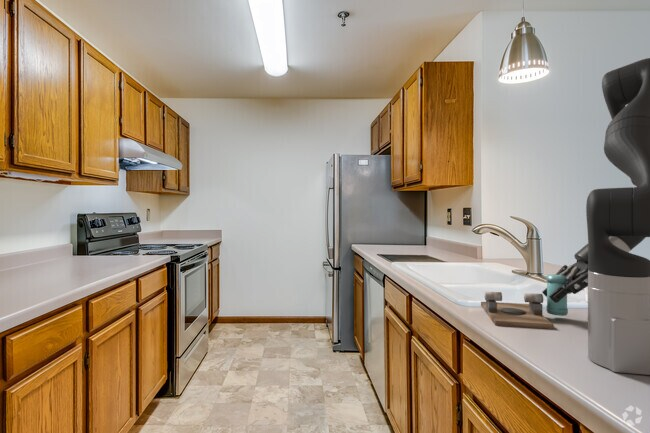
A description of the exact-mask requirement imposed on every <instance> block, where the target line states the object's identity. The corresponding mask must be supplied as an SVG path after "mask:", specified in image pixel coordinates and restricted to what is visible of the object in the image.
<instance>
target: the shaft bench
mask: <svg viewBox="0 0 650 433" xmlns="http://www.w3.org/2000/svg"><path fill="white" fill-rule="evenodd" d="M502 301H503V294H502V291H484V301H481V302H480V306H481V307H482V309H483V311H484V312H485V313H486V315H487V316H488V317H489V319H490V320H491V321H492V323H493V325H494V326H500V327H501V326H502V327H514V328H515V327H518V328H532V329H533V328H536V329H546V330H547V329H548V330H550V329H552V330H553V329H554V323H553V322H551V321H550V320H549V319H548V318H547V317H545V316H544V314H543V303H544V294H543V293H534V292H533V293H528V292H524V294H523V301H524V302H525V303H519V302H518V303H517V302H513V303H512V302H502Z"/></svg>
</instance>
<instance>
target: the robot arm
mask: <svg viewBox="0 0 650 433" xmlns="http://www.w3.org/2000/svg"><path fill="white" fill-rule="evenodd" d="M601 90H602V93H603V94H602V95H603V99H604V101H605V104H606V107H607V110H608V112H609V115H610V117H611V120H610V122H609V124H608V126H607V128H606V131H605V136H604V144H603V151H604V152H603V153H604V155H605V157H606V159H607V160H608V162H610V163H611V164H612V165H613V166H614V167H616V169H618V170H619V171H621V172H622V173H624V174H625V175H626V176H627V177H629V178H630V181H631V183H632V185H634V187H632V186H631V187H629V186H628V187H610V188H609V187H608V188H607V187H606V188H596V189H593V190H592V191H590V192H589V194H588V196H587V199H586V207H585V210H586V211H585V214H586V228H587V244H585V245H584V246H583V247H582V248H580V249H579V250H578V251H577V252H576V253H574V255H573V256H574V259H575V260H576V262H574V263H573V264H571V265H569V266H568V265H567V264H564V265H563V266H562V267H561V268H560V269H559V270H558V271H557V272H556V273H555V275H564V276H567V277H566V278H565V280H566V281H565V282H564V284H562V286H561V287H562V288H561V287H559V288H558V289H557V290H556V291H554V292H553V293H552V294H551V295H550V296H549V297H550V298H551V299H552V300H553V301H554V302H555V303H557V302H559V301H560V300H561V299H562V298H563V297H565V296H566V295H567V296H568V295H570V294H573V295H576V294H577V293H579V292H581V291H582V290H584V288H586V287H587V286H588V303H587V358H588V360H590V361H591V362H593V363H594V364H597V365H599V366H601V367H603V368H606V369H608V370H610V371H612V372H614V373H623V374H634V375H645V376H646V375H647V376H648V375H649V376H650V259H649V258H646V257H644V256H641V255H638V254H635V253H631V251H632V250H633V249H634V248H636V247H637V246H638V245H639V244H641V243H642V242H643V241H644V240H645V239H646V238H650V57H647V58H644V59H641V60H637V61H634V62H632V63H629V64H626V65H623V66H621V67H619V68H615V69H612V70H610V71H608V72H606V73H605V74H604V75H603V76H602V80H601ZM541 294H542V295H543V296H545V297H546V298H547V287H546V288H545V289H543V290H542V292H541Z"/></svg>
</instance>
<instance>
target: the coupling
mask: <svg viewBox="0 0 650 433" xmlns="http://www.w3.org/2000/svg"><path fill="white" fill-rule="evenodd" d="M555 274H556V273H555ZM555 274H546V280H545V281H546V288H547V297H546V310H545V311H546V312H547V314H549V315H552V316H560V317H565V316H568V314H569V308H568V294H567V295H566V296H565V297H563V298H562V299H561V300H560V301H559V302H557V303H555V302H554V301H553V300H552V299H551V298H550V297H549V296H550V295H551V294H552V293H553V292H554V291H556V290H557V289H558V288H559V287H561V286H562V284H564V282H565V281H566V280H565V278H566V277H567V276H564V275H555ZM561 288H562V287H561Z"/></svg>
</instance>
